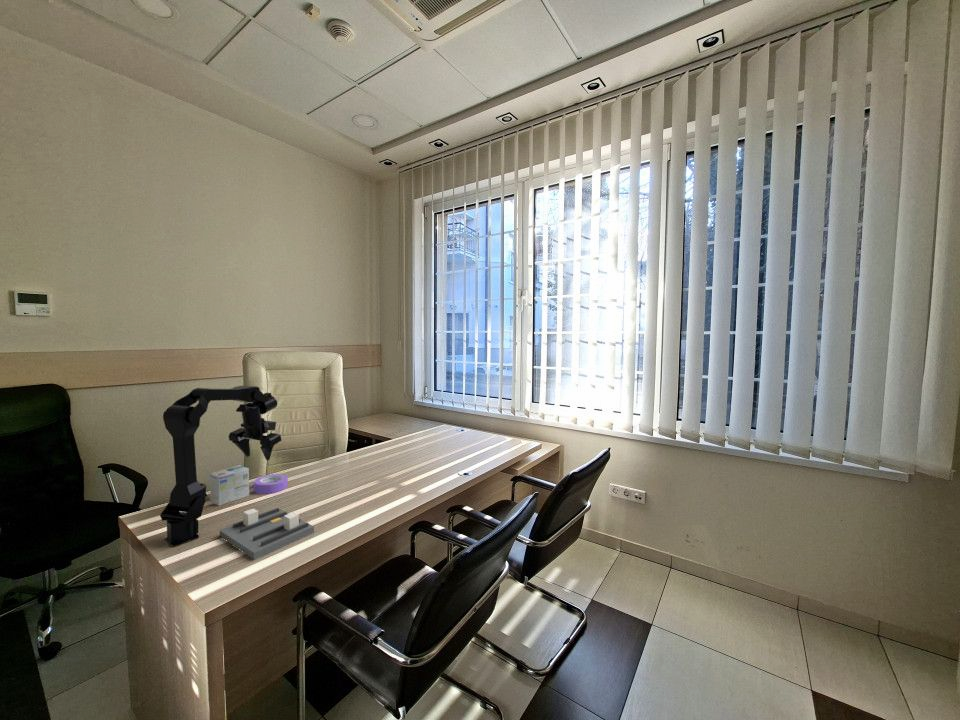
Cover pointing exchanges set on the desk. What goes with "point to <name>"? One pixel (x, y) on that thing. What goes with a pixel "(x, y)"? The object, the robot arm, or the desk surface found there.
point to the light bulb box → (229, 485)
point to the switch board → (265, 534)
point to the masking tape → (270, 484)
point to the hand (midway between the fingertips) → (258, 458)
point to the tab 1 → (250, 517)
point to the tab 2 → (291, 521)
